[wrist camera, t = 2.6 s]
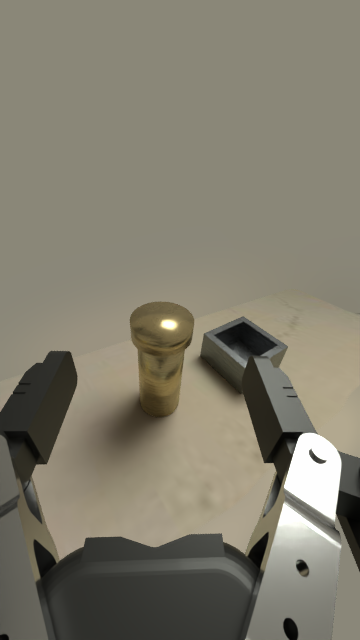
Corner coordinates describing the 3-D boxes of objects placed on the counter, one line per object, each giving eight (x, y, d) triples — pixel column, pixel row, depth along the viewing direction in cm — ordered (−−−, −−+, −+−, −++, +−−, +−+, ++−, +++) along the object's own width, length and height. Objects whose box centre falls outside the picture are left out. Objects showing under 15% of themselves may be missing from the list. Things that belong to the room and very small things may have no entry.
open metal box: (240, 393, 33) (248, 371, 30) (200, 355, 38) (204, 333, 35) (278, 367, 37) (288, 346, 34) (237, 336, 42) (243, 316, 40)
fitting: (151, 431, 27) (151, 349, 20) (126, 393, 31) (118, 312, 24) (193, 405, 31) (207, 325, 23) (166, 373, 34) (170, 296, 27)
